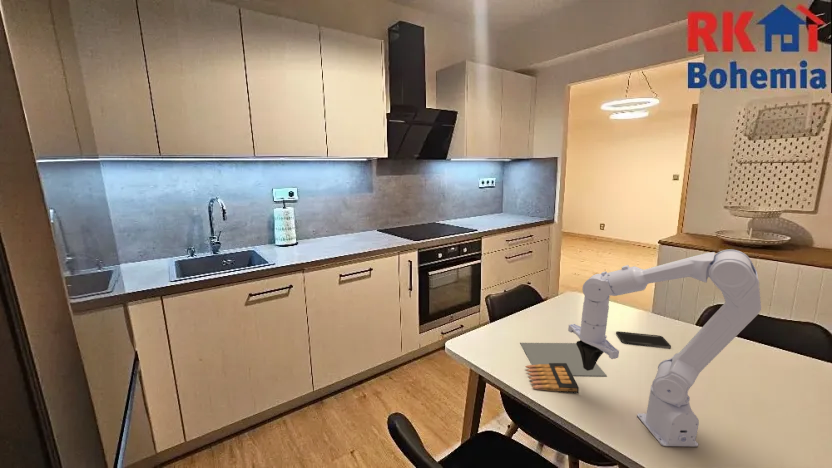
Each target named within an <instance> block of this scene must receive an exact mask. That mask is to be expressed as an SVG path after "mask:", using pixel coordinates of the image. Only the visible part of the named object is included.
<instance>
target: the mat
mask: <svg viewBox="0 0 832 468" xmlns="http://www.w3.org/2000/svg"><path fill="white" fill-rule="evenodd" d="M576 343H577V342H573V343H572V342H520V345H521V347H522V349H523V352H524V353H525V355H526V357H527V358H528V360H529V363H530V365H538V364H549V363H567V365H568V367H569V369H570V371H571V373H572V375H573V377H608V375H607V374H606V372H604V371H603V369H602V368H601V366H599V364H597V362H596V364H595V366H594V369H593V370H589V371H587V370H586V369H584V368H583V362H582V357H581V354H580V351H579V348H578V346H577V345H576Z"/></svg>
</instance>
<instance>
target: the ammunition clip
mask: <svg viewBox="0 0 832 468" xmlns="http://www.w3.org/2000/svg"><path fill="white" fill-rule="evenodd" d="M525 368H527V369H526V372H529V373H527V376H530V377H528V378H529V380H531V382H530V384H532V386H531V388H532V389H535V390H541V391H542V390H543V391H549V392H550V391H551V392H552V391H553V392H558V393H567V394H579V389H580V387H579V385H578V383H577V380H575V376H573V375H572V373H571V371H570V369H569V367H568V365H567V363H549V364H538V365H532V364H527V365H526V366H525Z"/></svg>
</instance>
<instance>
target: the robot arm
mask: <svg viewBox="0 0 832 468" xmlns="http://www.w3.org/2000/svg"><path fill="white" fill-rule="evenodd" d="M757 270H758V269H756V266H755V265H754V264H753V261H752V260H751V258H750V257H749V256H748V255H747V254H746V253H744V252H742V251H740V250H736V249H724V250H721V251H718V252H716V253H715V251H712V252H705V253H702V254H697V255H694V256H690V257H686V258H682V259H678V260H675V261H674V260H673V261H671V262H667V263H664V264H660V265H656V266H653V267H649V268H645V269H643V268H640V267H638V266H636V265H634V266H629V264H626V265H623V266H622V267H621V269H617V270H614V271H609V272H607V271H602V272H601V273H596V274H593V275H591V277H589V278H588V279H587V280H585V282H584V283H583V285H582V293H583V295H584V299H583V302H582V304H583V305H582V313H581V322H580V325H578V324H576V323H571V324H568V328H567V329H568V330H567V331H568V332H569V333H573V334H575V335H576V336H577V338H578V339H579V340H578V341H576V342H575V343H576V345H577V346H578V348H579V351H580V354H581V357H582V362H583V368H584V369H586V370H587V371H589V370H593V369H594V366H595V364H596V363H597V362H598V360H599V358H600V357H601V356H602V355H603V354H604V353H605V354H606V355H608V358H609V359H611V360H615V359H619V355H620V350H619V349H618V348H616V347H615V346H614V345H612V343H611V342H610V341H609V340H608V339H607V337H608V336H607V335H606V334H607V333H606V331H607V325H608V318H609V308H610V307H609V305H610V304H609V303H610V298H611V297H617V296H623V295H627V294H631V293H632V294H633V293H637V292H642V291H645V290H646V288H647V287H648V285H649V284H655V283H660V282H665V281H666V282H667V281H673V280H679V279H683V278H693V279H695V280H697V281H699V282H700V281H701V282H702V283H707V282H708V278H709V279H710V281H711V282H712V283H713V284H714V285H715V286H716V288H717V289H719V291H720V292H721V294H722V296H723V298H724V301H725V302H724V303H723V305H721V306H720V308H719V309H718V310H717V311H716V312H715V313H714V314H713V315H712V316H711V317H710V318H709V319H708V320H707V322H705V324H704V325H703V326H702V327H701V328H700V329H699V330H698V331H697V333H696V334H694V336H693V337H692V338H691V339H690V340H689V341H688V343H686V344H685V345H684V346H683V348H682V349H681V350H680V351H679V352H676V353H675V354H673V356H672V357H670V358H668V359H663V360H662V361H661V362H659V364H658V366H657V371H656V374H655V377H654V379H653V380H652V383H651V385H650V390H649V396H648V401H647V408H646V413H638V412H637V414H636V415H637V418H638V419H639V420H640V421H641V423H643V425H644V426H645V427H646V428H647V429H648V431H649V432H650V433H651V434H652V435H653V436H654V438H655V439H656V440H657V441H658V442H659V444H660V445H661V446H663V447H698V446H699V443H698V442H697V441H696V440H697V435H698V429H699V425H700V421H699V418H698V416H697V415H696V414H695V413H694V411H693V409H692V407H691V404H690V396H689V390H690V389H691V388H692V386H693V385H694V384H695V382H696V381H697V379H698V377H699V375H700V373H701V372H703V370H704V369H705V368H706V367H707V366H708V365H710V363H711V362H712V361H713V360H714V359H715V358H716V357H717V356H718V355H719V354H720V353H721V352H722V351H723V350H724V349H725V348H726V347H727V346H728V345H729V344H730V343H732V341H733V340H734V339H735V338H736V337H737V336H738V335H739V334H740V333H741V332H742V331H743V330H744V329H745V328H746V327H747V326H748V325H749V324H750V323H751V322H752V321H753V320H754V319H755V318H756V317H757V316H758V315H759V314H760V312H761V311H762V304H761V303H762V301H761V300H762V299H761V291H760V290H761V289H760V280H759V275H758V271H757Z"/></svg>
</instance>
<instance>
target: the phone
mask: <svg viewBox="0 0 832 468" xmlns="http://www.w3.org/2000/svg"><path fill="white" fill-rule="evenodd" d="M615 336H616V337H617V339H618V340H619V342H620V343H621V344H624V345H630V346H637V347H647V348H657V349H658V348H659V349H665V350H670V349H671V348H672V345H671V344H670V343H669V342H668V341H667V339H665V338H664V337H663V336H662V335H656V334H648V333H637V332H630V331H629V332H628V331H627V332H626V331H620V330H619V331H615Z"/></svg>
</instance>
